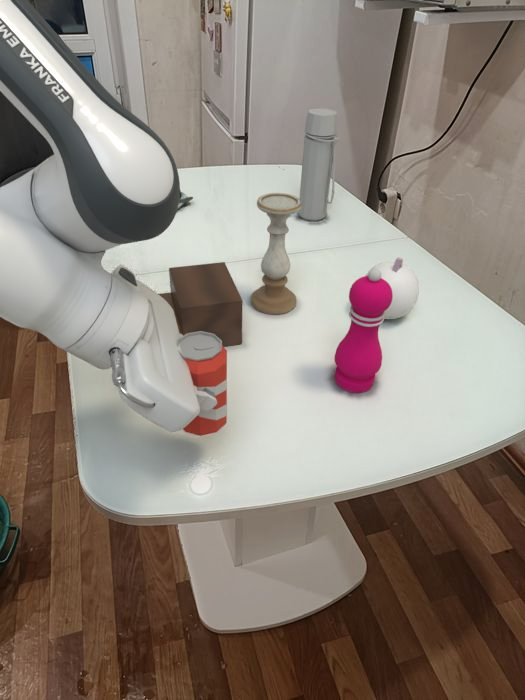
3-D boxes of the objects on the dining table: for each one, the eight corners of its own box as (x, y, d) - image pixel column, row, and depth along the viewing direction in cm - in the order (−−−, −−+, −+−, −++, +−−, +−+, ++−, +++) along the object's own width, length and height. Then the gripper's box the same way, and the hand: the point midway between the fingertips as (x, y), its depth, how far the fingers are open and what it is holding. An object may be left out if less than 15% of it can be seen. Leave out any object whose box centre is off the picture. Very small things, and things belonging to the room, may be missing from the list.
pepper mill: (356, 402, 77) (380, 289, 65) (321, 377, 82) (337, 267, 69) (386, 382, 81) (413, 272, 69) (351, 359, 85) (371, 251, 73)
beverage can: (234, 432, 63) (234, 355, 55) (182, 444, 61) (176, 366, 54) (220, 399, 67) (219, 325, 60) (172, 409, 65) (165, 334, 58)
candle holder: (262, 319, 94) (267, 214, 81) (243, 295, 100) (245, 194, 87) (304, 309, 97) (315, 206, 84) (283, 286, 103) (290, 188, 90)
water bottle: (291, 216, 130) (299, 111, 115) (309, 208, 135) (319, 105, 119) (320, 227, 125) (332, 119, 110) (338, 218, 130) (352, 113, 115)
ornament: (409, 334, 92) (425, 276, 84) (353, 323, 94) (363, 265, 86) (413, 304, 100) (428, 249, 92) (361, 294, 102) (371, 239, 94)
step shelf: (135, 360, 83) (128, 314, 78) (128, 316, 93) (121, 272, 87) (242, 344, 88) (242, 300, 82) (224, 303, 97) (224, 261, 92)
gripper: (138, 367, 43) (246, 427, 52) (121, 257, 59) (207, 316, 67) (92, 413, 45) (204, 464, 53) (87, 294, 60) (175, 348, 69)
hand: (205, 381), depth 60 cm, fingers closed on beverage can, 6 cm apart
